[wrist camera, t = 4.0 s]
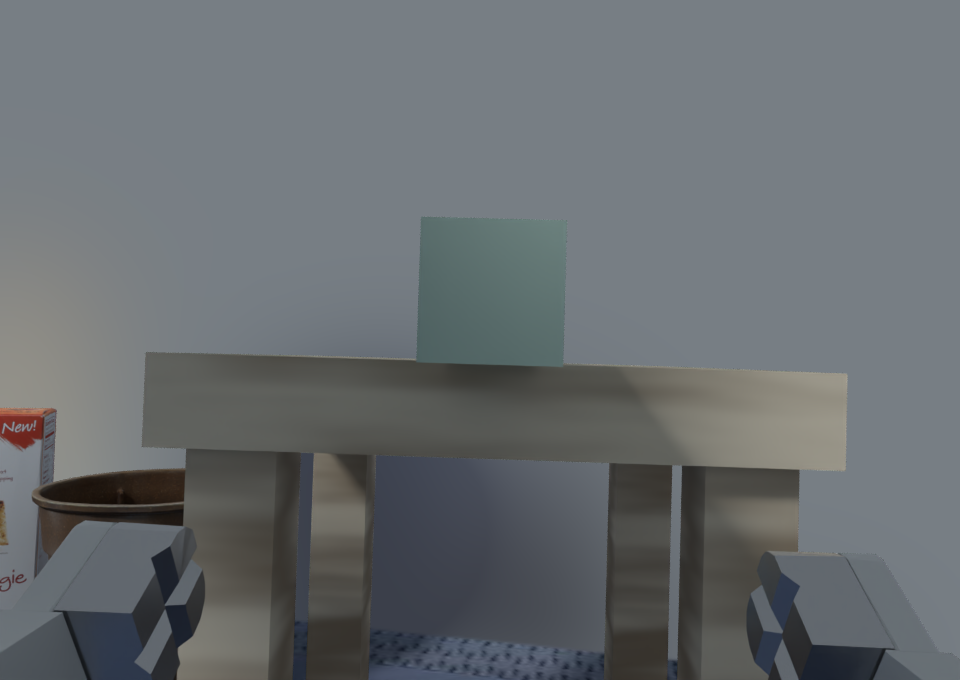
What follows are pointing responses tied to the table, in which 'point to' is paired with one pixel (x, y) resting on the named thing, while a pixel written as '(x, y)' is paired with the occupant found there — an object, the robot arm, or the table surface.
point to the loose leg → (492, 291)
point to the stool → (483, 435)
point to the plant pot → (109, 502)
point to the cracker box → (23, 496)
